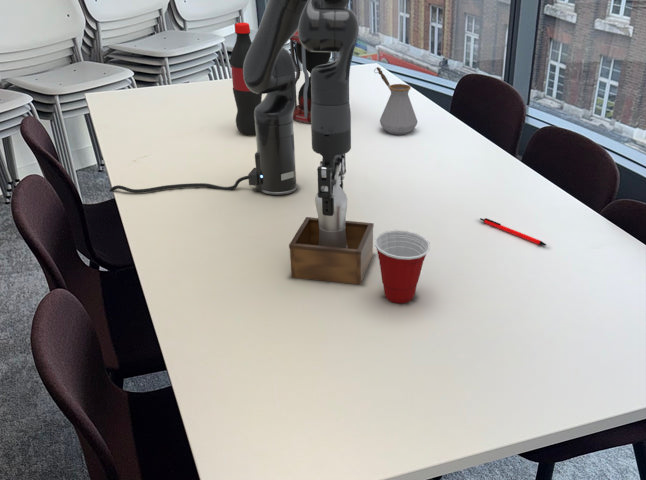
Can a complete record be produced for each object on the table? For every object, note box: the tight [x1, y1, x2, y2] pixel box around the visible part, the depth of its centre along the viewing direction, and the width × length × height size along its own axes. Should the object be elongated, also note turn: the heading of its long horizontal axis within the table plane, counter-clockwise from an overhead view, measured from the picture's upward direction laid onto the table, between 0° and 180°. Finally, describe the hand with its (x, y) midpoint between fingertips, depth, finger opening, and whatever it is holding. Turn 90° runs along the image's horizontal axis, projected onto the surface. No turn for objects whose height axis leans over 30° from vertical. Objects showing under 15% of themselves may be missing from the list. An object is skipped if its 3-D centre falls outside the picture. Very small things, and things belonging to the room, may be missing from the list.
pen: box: [479, 217, 548, 247], centre depth 175 cm, size 1×19×1 cm, turn 45°
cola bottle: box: [229, 22, 263, 137], centre depth 219 cm, size 8×8×30 cm
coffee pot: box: [373, 66, 418, 136], centre depth 231 cm, size 21×12×15 cm, turn 26°
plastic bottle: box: [314, 173, 349, 248], centre depth 155 cm, size 6×7×20 cm
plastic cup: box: [374, 229, 431, 304], centre depth 148 cm, size 11×11×12 cm
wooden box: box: [288, 216, 375, 285], centre depth 159 cm, size 15×14×7 cm
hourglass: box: [289, 31, 338, 124], centre depth 234 cm, size 16×16×25 cm
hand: (333, 206), depth 153 cm, fingers open, 8 cm apart
